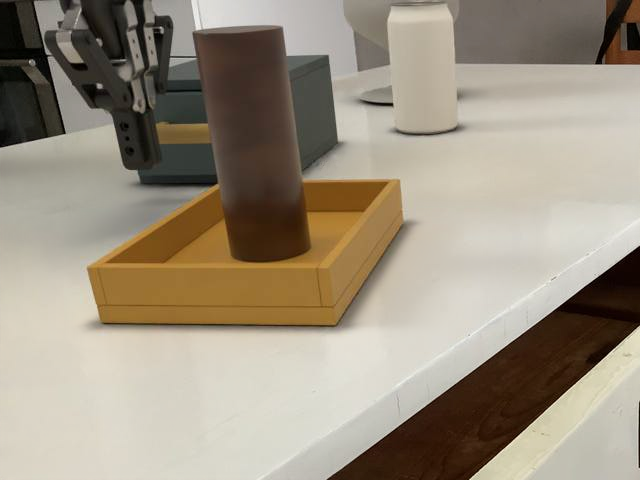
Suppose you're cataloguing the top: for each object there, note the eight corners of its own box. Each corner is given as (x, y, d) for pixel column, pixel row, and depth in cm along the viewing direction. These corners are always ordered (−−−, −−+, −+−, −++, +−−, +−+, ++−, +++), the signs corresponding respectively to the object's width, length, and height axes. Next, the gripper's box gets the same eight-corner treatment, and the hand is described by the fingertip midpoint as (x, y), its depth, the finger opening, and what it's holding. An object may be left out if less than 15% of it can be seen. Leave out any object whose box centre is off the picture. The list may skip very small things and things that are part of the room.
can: (446, 120, 90) (439, -1, 85) (467, 130, 85) (461, 1, 80) (388, 127, 88) (377, 3, 83) (405, 137, 83) (395, 5, 78)
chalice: (338, 96, 109) (325, -31, 103) (438, 86, 115) (431, -36, 108) (372, 111, 98) (360, -31, 91) (481, 99, 103) (477, -37, 96)
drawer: (255, 188, 63) (241, 101, 60) (111, 189, 64) (91, 104, 62) (324, 138, 80) (316, 68, 77) (209, 139, 81) (197, 71, 78)
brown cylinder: (218, 262, 47) (176, 34, 42) (247, 237, 51) (213, 26, 46) (297, 262, 47) (265, 31, 42) (320, 237, 51) (294, 24, 46)
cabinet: (287, 182, 68) (273, 77, 65) (140, 183, 70) (118, 81, 66) (338, 142, 82) (328, 54, 79) (214, 144, 84) (199, 58, 80)
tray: (100, 323, 42) (85, 267, 41) (229, 223, 58) (221, 180, 57) (336, 326, 41) (328, 267, 40) (403, 223, 56) (400, 178, 55)
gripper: (81, -110, 57) (136, 148, 65) (-47, -125, 45) (39, 193, 53) (187, -116, 56) (230, 146, 64) (85, -133, 45) (153, 191, 52)
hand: (143, 167), depth 58 cm, fingers closed
